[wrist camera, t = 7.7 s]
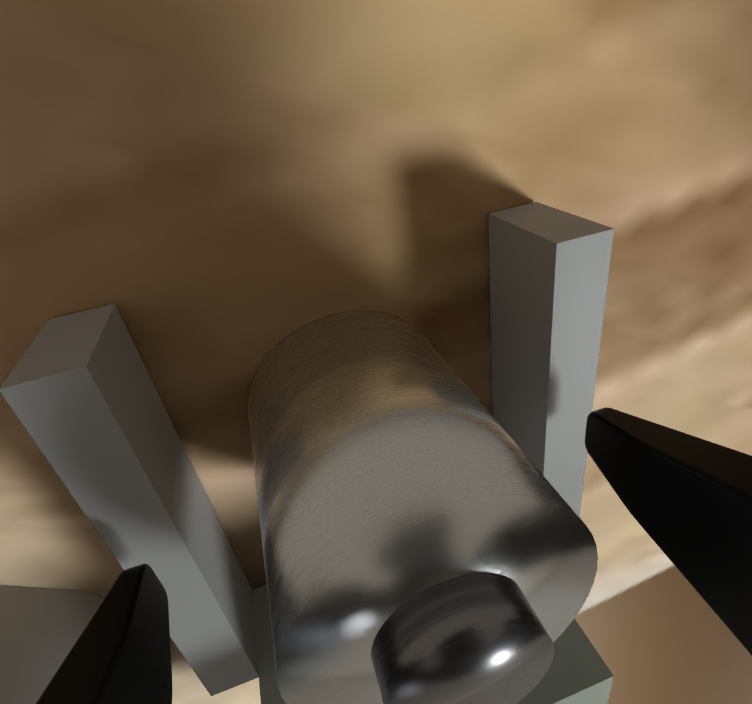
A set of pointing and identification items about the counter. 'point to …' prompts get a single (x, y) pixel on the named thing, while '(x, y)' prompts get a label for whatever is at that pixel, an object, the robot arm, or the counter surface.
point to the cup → (38, 636)
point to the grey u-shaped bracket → (190, 502)
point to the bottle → (403, 526)
